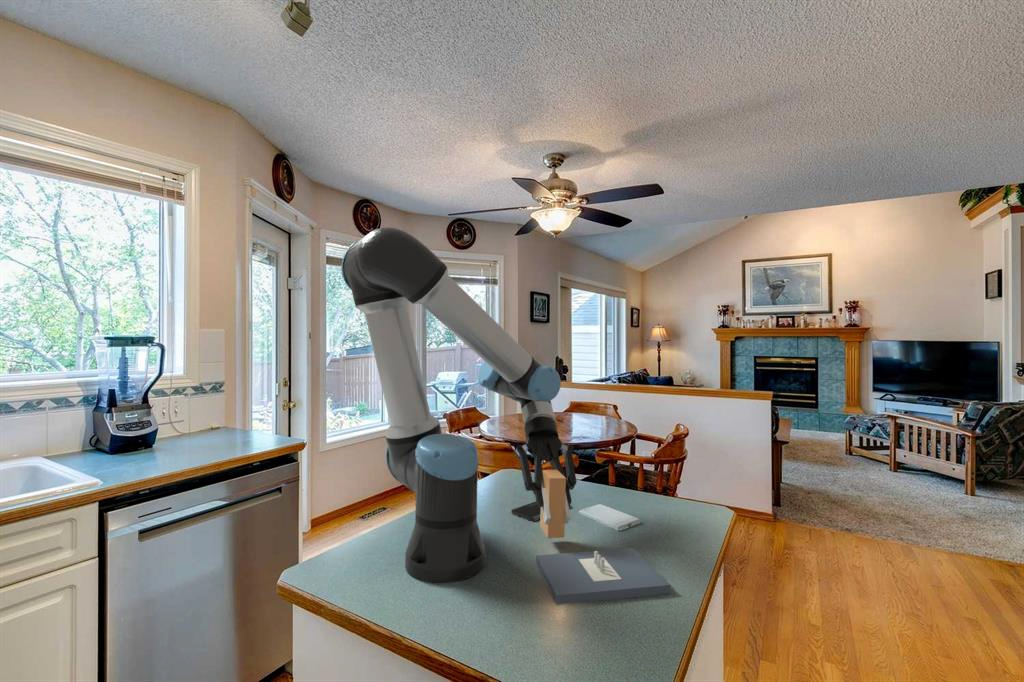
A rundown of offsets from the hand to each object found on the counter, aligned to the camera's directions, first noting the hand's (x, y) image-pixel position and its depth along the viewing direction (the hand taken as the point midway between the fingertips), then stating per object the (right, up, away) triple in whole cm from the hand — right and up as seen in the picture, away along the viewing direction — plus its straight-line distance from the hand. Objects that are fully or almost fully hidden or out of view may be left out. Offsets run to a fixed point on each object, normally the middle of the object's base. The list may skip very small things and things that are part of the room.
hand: (557, 520), depth 91 cm
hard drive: (+14, -8, +19) cm, 25 cm away
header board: (+7, -7, -9) cm, 13 cm away
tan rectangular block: (-1, -4, +4) cm, 5 cm away
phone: (-2, -7, +24) cm, 25 cm away
